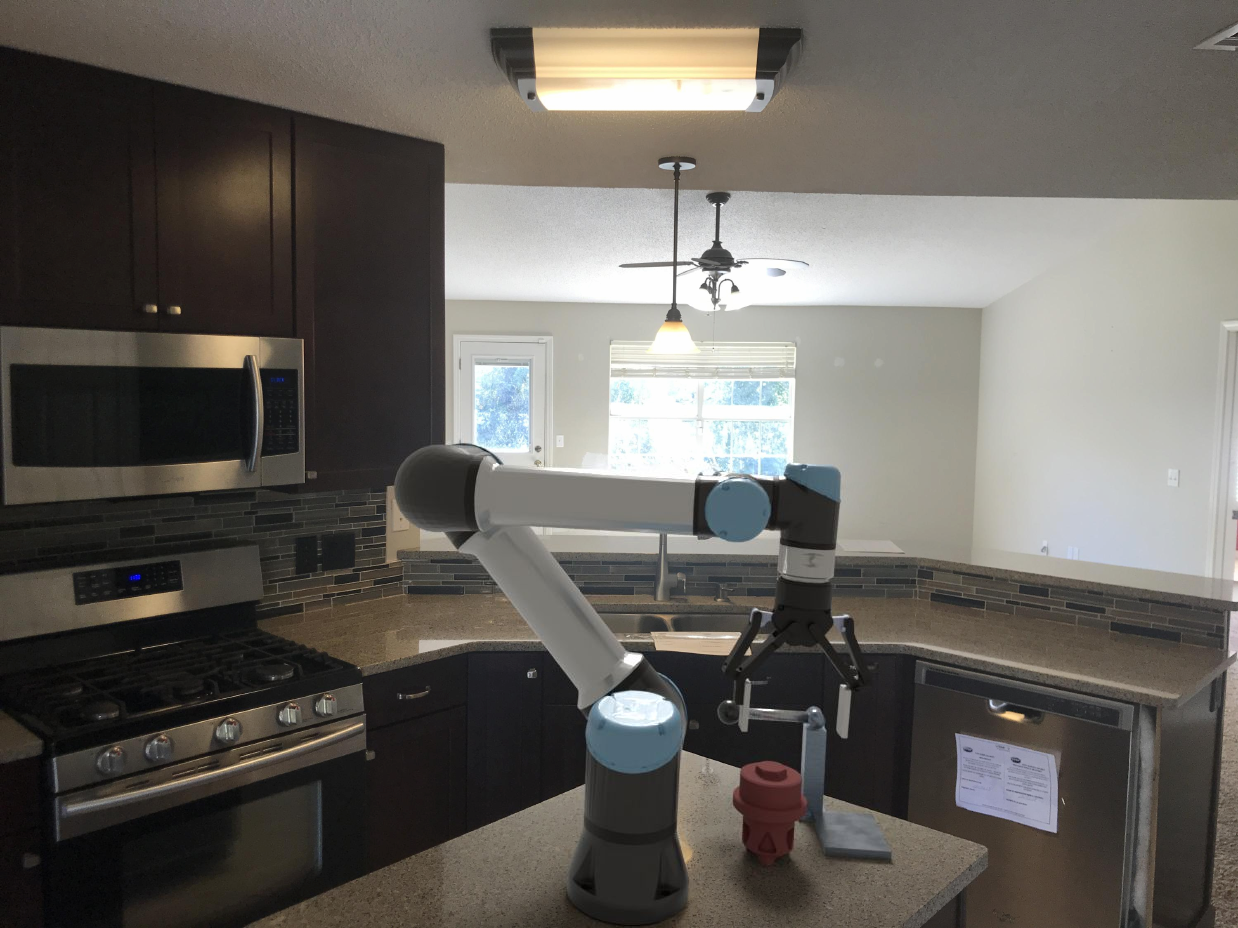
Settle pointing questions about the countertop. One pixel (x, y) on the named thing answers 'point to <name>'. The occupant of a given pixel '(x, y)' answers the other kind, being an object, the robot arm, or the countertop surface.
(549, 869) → the countertop surface
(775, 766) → the mechanical component
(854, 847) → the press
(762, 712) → the lever
